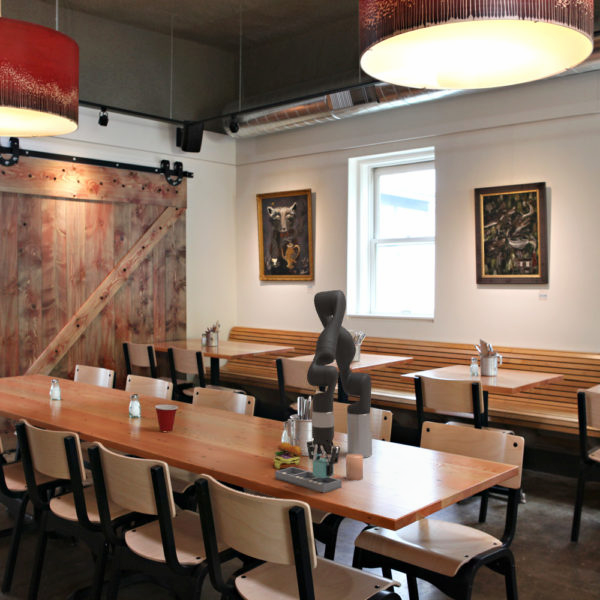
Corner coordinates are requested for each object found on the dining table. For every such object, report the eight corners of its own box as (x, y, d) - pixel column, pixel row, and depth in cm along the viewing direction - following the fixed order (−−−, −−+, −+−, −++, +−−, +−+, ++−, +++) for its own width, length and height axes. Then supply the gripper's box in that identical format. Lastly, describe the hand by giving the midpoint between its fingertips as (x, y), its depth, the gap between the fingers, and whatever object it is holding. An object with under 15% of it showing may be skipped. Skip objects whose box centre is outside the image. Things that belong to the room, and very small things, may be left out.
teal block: (323, 472, 237) (323, 458, 237) (333, 475, 234) (333, 460, 233) (312, 475, 234) (312, 460, 234) (323, 478, 230) (323, 463, 230)
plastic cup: (175, 433, 320) (175, 407, 320) (152, 433, 320) (152, 408, 320) (180, 428, 331) (180, 403, 331) (158, 428, 331) (157, 403, 331)
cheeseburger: (266, 466, 261) (270, 439, 263) (286, 467, 269) (290, 442, 270) (284, 471, 254) (288, 443, 256) (304, 472, 261) (308, 445, 263)
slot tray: (292, 473, 251) (292, 466, 251) (341, 487, 234) (341, 479, 234) (274, 478, 245) (274, 470, 245) (323, 493, 228) (323, 485, 228)
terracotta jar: (353, 474, 249) (353, 452, 249) (366, 478, 245) (366, 455, 245) (342, 478, 245) (342, 455, 245) (355, 481, 241) (355, 458, 241)
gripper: (346, 425, 231) (346, 476, 231) (315, 419, 241) (316, 468, 241) (330, 429, 226) (330, 480, 226) (300, 422, 236) (300, 472, 236)
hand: (323, 474), depth 234 cm, fingers closed on teal block, 5 cm apart
